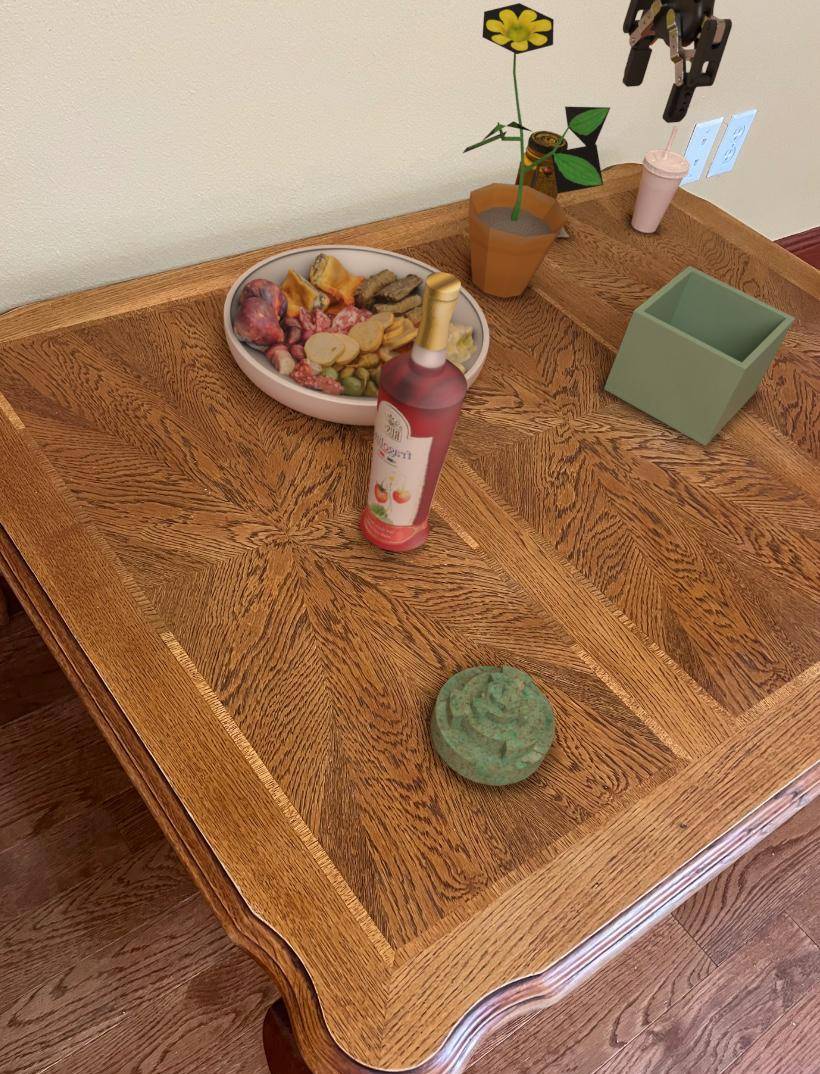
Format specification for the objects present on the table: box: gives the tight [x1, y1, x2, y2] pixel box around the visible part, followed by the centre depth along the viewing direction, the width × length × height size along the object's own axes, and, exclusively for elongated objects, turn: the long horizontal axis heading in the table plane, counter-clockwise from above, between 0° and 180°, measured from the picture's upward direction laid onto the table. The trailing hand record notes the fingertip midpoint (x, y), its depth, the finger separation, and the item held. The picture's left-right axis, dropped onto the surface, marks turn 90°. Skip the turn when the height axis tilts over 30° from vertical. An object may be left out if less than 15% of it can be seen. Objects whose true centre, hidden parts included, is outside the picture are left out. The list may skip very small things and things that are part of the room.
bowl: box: [223, 244, 490, 427], centre depth 106 cm, size 30×30×8 cm
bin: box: [603, 265, 796, 447], centre depth 108 cm, size 14×14×11 cm
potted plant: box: [461, 2, 611, 299], centre depth 111 cm, size 18×19×30 cm
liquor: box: [359, 271, 468, 552], centre depth 81 cm, size 7×7×28 cm
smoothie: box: [630, 125, 691, 234], centre depth 131 cm, size 6×6×14 cm
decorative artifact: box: [429, 664, 556, 787], centre depth 77 cm, size 10×7×10 cm
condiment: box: [514, 130, 570, 238], centre depth 128 cm, size 7×8×12 cm
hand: (650, 102), depth 101 cm, fingers open, 8 cm apart
